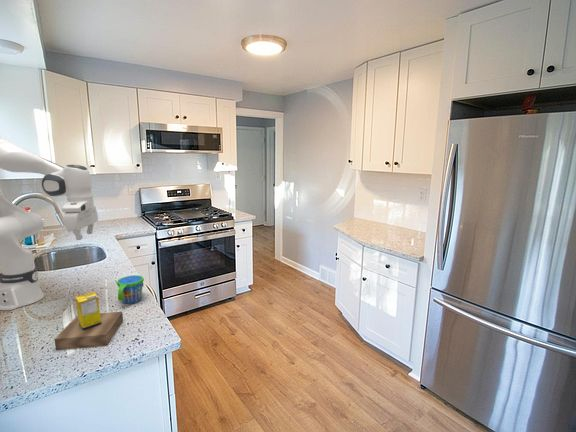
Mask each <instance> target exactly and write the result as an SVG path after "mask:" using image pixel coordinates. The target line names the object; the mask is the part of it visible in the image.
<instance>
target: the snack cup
mask: <svg viewBox="0 0 576 432" xmlns="http://www.w3.org/2000/svg"><path fill="white" fill-rule="evenodd" d="M116 285H117V287H118V291H117V292H118V293H117V299H118V301H119V302H123V303H125V304H133V303H134V304H135V303H137V302H140V301H141V299H142V295H143V294H142V293H143V287H144V277H143V276H141V275H139V274H137V275H136V274H135V275H134V274H133V275H127V276H124V277H121V278H118V279H117V281H116Z"/></svg>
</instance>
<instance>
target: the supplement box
mask: <svg viewBox="0 0 576 432" xmlns="http://www.w3.org/2000/svg"><path fill="white" fill-rule="evenodd" d="M74 298H75V303H76V305H75V306H76V311H77V315H78V319H79V324H80V326H81V328H82V329H83V330H85V329H88V328H90V327H93V326H96V325H99V324H101V316H100V313H101V309H100V304H99V297H98V295H97V294H96V293H95V292H94V291H91V292H88V293H85V294H81V295H76V296H75V297H74Z"/></svg>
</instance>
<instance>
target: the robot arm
mask: <svg viewBox="0 0 576 432" xmlns="http://www.w3.org/2000/svg"><path fill="white" fill-rule="evenodd" d="M0 169H1V170H4V171H7V172H9V173H10V172H11V173H28V174H29V173H32V174H40V175H44V176H43V177H42V179H41V188H42V190H43V192H44V193H45V194H47V195H48V196H50V197H62V196H65V197H66V198H67V201H66V202H65V204H64V205H63V206H62V208H61V211H62V213H64V215H63V219H64V225H65V229H66V230H67V232H72V233H73V234H74V236H75V239H76V241H81V240H83V234H81V233H82V232H81V230H82V229H84V228H86V227H87V229H86V234H87V235H92V234H94V223H96V222H97V221H98V219H99V216H98V211H97V207H96V205H95V203H94V196H93V194H92V187H93V185H92V178H91V174H90V171H89V169H88V168H87V167H86V166H83V165H80V164H66V165H65V166H64V167H63V166H61V165H59V164H57V163H55V162H54V161H50V160H48V159H46V158H43V157H41V156H39V155H36V154H35V153H32V152H30V151H28V150H25V149H24V148H23V147H20V146H18V145H16V144H14V143H12V142H10V141H9V140H6V139H4V138H1V137H0ZM44 226H45V225H44V219H43V218H42V216H40V214H38V213H36V212H32V211H28V210H25V209H23V208H22V207H20V206H18V205H16V204H14V203H13V202H11V201H10V200H8V199H7V198H6V197H5V196H4V195H3V193H2V192H0V268H1V269H0V270H1V273H0V311H11V310H15V309H18V308H20V307H24V306H28V305H31V304H33V303H36V302H38V301H41V300H42V299H43V298H44V297H45V293H44V292H43V290H42V288H41V286H40V283H39V275H38V270H37V267H36V264H35V260H34V253H33V251H32V250H31V249H29V248H26V247H23V246H22V245H21V244H20V241H19V240H21V239H22V240H23V239H25V238H29V237H32V236H35V235H36V234H38V233H40V232H41V231H43V229H44Z"/></svg>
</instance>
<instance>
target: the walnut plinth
mask: <svg viewBox="0 0 576 432" xmlns="http://www.w3.org/2000/svg"><path fill="white" fill-rule="evenodd" d="M100 316H101V324H99V325H96V326H93V327H90V328H88V329H85V330H83V329H82V328H81V326H80V324H79V319H78V314H77V315H76V316H75V317H74V318H73V319H72V320H71V321H70V322H69V323H68V324H67V325H66V326H65V327H64V329H63V330H61V332H59V334H58V335H57V336H56V337H55V338H54V346H55V350H57V351H58V350H68V349H80V348H89V347H90V348H91V347H101V346H108V345H109V343H110V342H111V341H112V339H113V337H114V336H115V334H116V333H117V331H118V330H119V329H120V326H121V325H122V324H123V322H124V316H123V311H113V312H100Z"/></svg>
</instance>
